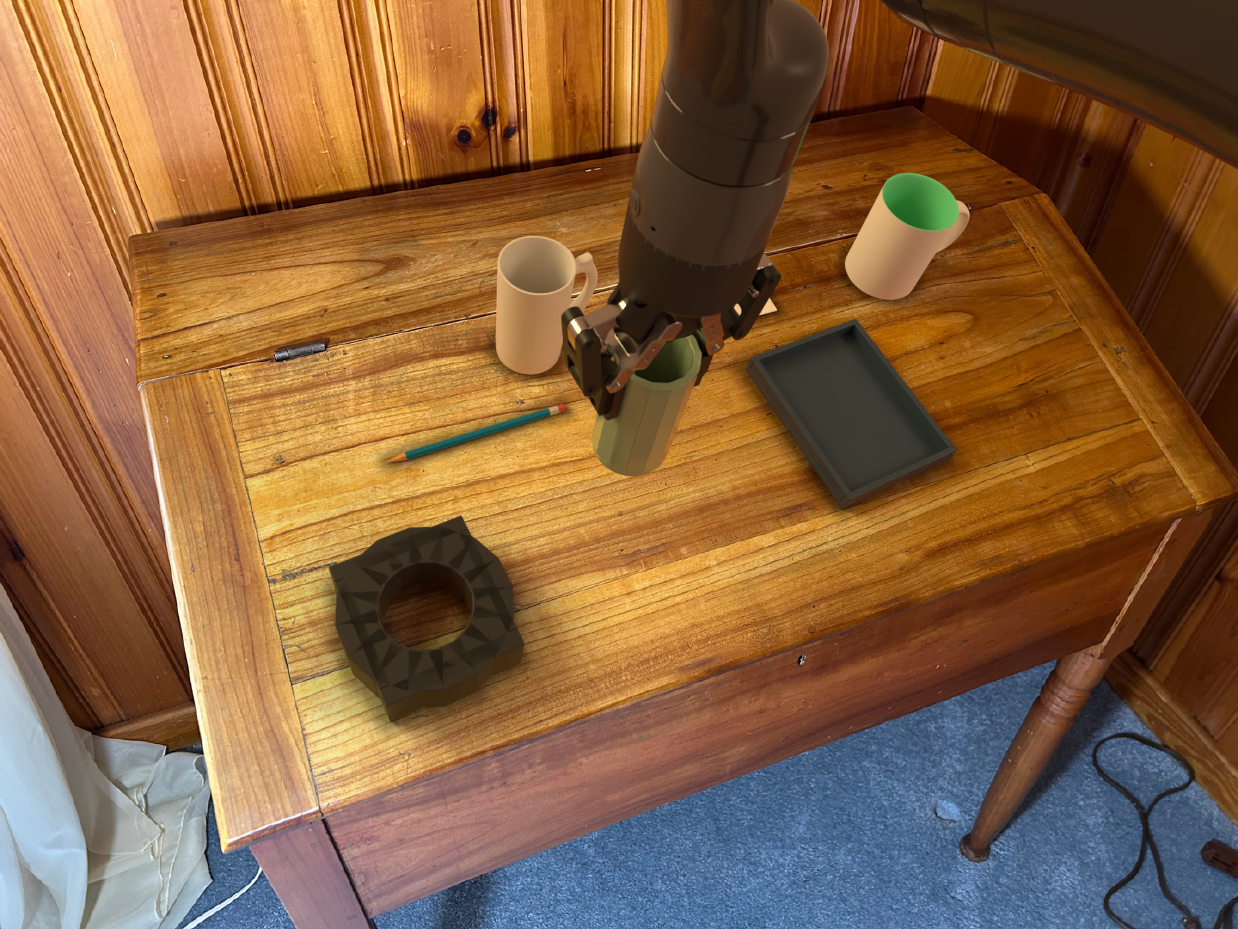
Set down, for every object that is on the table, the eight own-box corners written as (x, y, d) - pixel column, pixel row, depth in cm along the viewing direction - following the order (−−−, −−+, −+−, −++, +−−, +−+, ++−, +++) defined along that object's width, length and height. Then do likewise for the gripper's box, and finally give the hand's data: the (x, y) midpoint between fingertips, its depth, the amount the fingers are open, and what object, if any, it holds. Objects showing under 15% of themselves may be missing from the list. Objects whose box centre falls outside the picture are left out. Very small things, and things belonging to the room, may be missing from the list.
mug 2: (917, 230, 106) (959, 159, 97) (956, 281, 103) (1004, 213, 94) (831, 252, 102) (867, 181, 93) (869, 307, 99) (910, 238, 90)
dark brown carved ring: (538, 663, 74) (542, 644, 70) (378, 737, 69) (374, 722, 66) (470, 527, 79) (471, 502, 75) (318, 587, 75) (310, 565, 71)
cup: (682, 459, 67) (718, 370, 57) (614, 488, 65) (640, 401, 55) (644, 400, 69) (673, 305, 60) (577, 426, 67) (596, 332, 58)
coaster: (710, 328, 94) (712, 323, 93) (677, 270, 97) (678, 265, 97) (777, 310, 97) (779, 305, 96) (742, 254, 100) (744, 249, 99)
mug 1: (512, 387, 87) (519, 305, 77) (480, 335, 89) (483, 248, 79) (604, 352, 91) (623, 269, 80) (571, 302, 93) (585, 216, 83)
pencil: (565, 412, 87) (565, 408, 86) (388, 467, 81) (387, 463, 80) (561, 405, 87) (562, 401, 86) (385, 460, 81) (384, 456, 81)
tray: (947, 461, 90) (957, 450, 88) (841, 509, 86) (849, 499, 84) (848, 330, 97) (855, 318, 95) (745, 369, 92) (750, 357, 90)
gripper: (616, 300, 43) (577, 476, 57) (854, 219, 48) (763, 399, 63) (543, 191, 46) (523, 385, 60) (775, 125, 51) (706, 318, 65)
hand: (646, 392), depth 61 cm, fingers closed on cup, 5 cm apart
